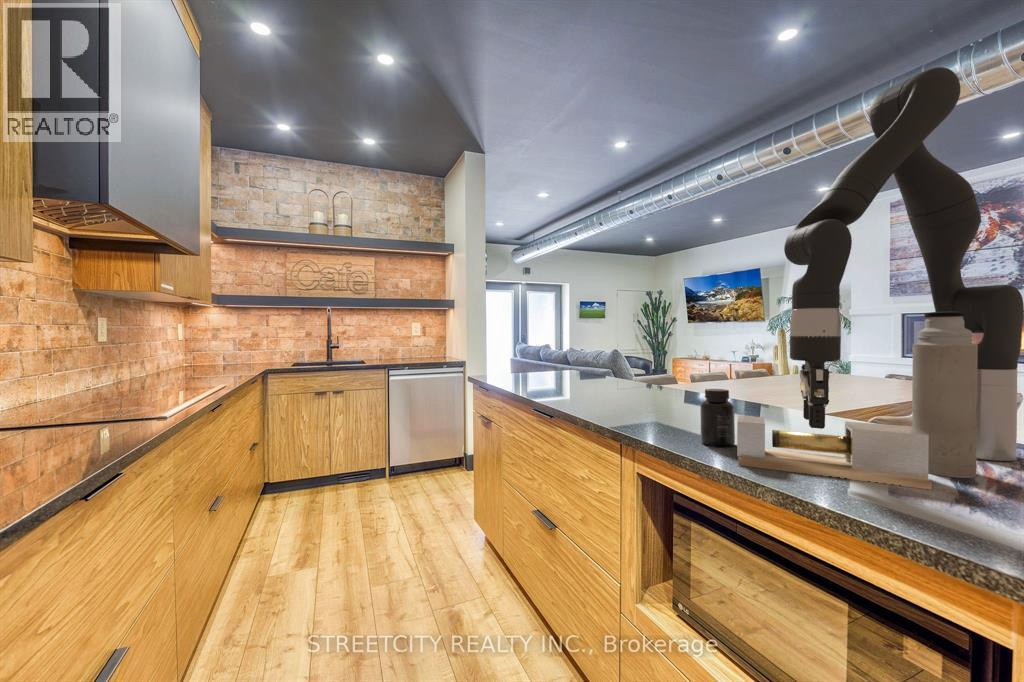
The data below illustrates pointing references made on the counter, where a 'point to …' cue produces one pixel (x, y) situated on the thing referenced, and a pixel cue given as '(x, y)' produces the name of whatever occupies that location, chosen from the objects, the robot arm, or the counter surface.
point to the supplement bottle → (717, 419)
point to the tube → (811, 442)
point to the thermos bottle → (946, 393)
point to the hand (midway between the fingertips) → (813, 423)
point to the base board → (827, 468)
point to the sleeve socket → (856, 446)
